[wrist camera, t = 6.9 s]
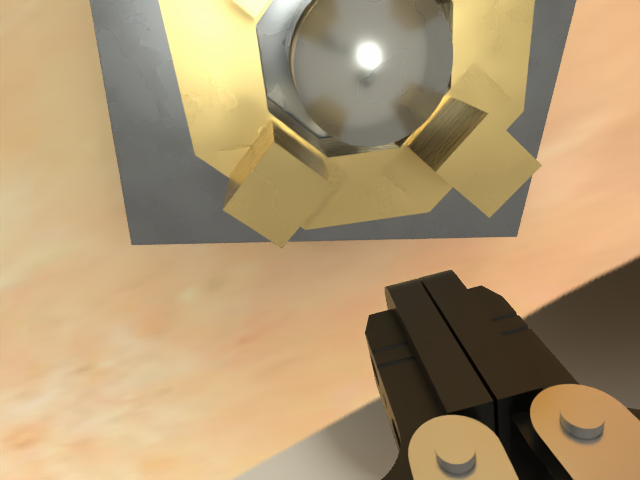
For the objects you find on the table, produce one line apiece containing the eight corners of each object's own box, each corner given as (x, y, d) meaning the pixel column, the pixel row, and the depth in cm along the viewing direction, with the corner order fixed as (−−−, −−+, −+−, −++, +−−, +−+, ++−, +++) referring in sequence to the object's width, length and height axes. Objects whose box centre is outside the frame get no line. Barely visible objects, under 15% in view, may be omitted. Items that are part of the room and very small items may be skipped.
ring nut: (145, -126, 16) (72, -213, 10) (507, -162, 16) (649, -263, 10) (221, 214, 22) (205, 292, 16) (484, 177, 22) (567, 238, 16)
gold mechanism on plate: (139, 231, 23) (90, 318, 17) (60, -255, 15) (-94, -460, 9) (503, 225, 26) (587, 298, 19) (603, -201, 18) (810, -330, 11)
